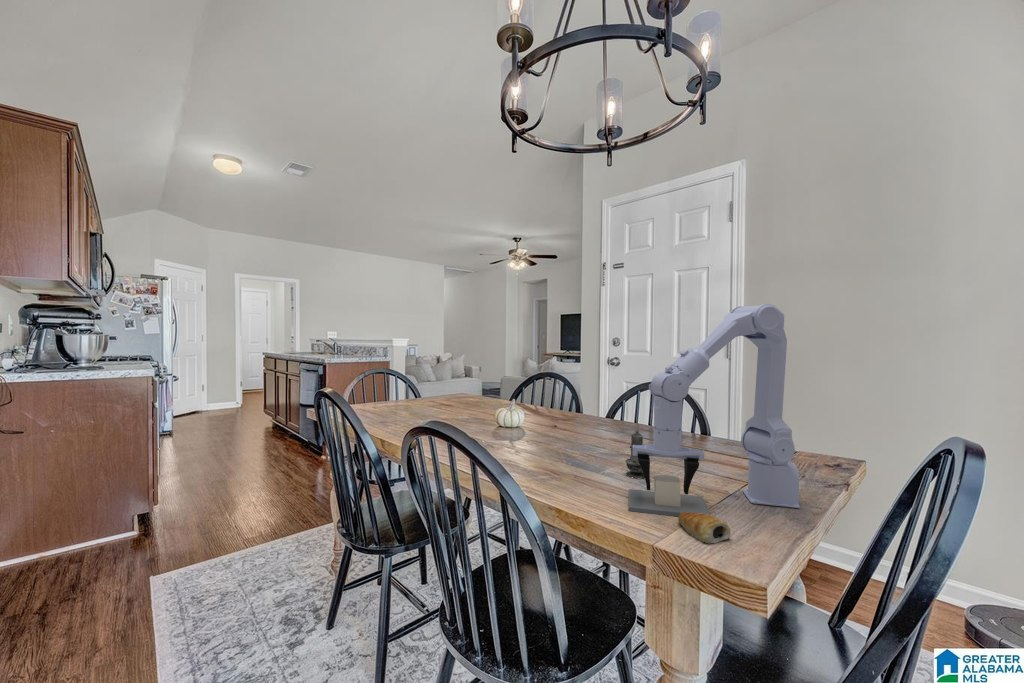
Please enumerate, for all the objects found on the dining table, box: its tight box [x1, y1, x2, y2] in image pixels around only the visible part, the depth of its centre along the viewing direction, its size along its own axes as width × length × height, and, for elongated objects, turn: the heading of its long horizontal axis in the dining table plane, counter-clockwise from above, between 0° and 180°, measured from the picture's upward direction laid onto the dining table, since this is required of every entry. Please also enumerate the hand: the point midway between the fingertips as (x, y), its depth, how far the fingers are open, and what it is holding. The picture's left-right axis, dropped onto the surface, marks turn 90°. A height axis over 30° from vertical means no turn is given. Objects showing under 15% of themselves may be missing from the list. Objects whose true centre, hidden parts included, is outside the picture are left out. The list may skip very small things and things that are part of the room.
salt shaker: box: [624, 429, 645, 479], centre depth 112 cm, size 6×6×12 cm
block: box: [653, 473, 682, 507], centre depth 93 cm, size 5×5×5 cm
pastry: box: [677, 512, 731, 544], centre depth 80 cm, size 9×7×4 cm
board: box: [627, 488, 712, 518], centre depth 92 cm, size 16×11×1 cm
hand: (666, 490), depth 92 cm, fingers open, 7 cm apart
